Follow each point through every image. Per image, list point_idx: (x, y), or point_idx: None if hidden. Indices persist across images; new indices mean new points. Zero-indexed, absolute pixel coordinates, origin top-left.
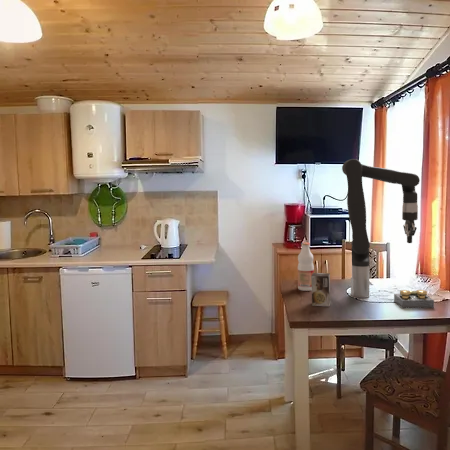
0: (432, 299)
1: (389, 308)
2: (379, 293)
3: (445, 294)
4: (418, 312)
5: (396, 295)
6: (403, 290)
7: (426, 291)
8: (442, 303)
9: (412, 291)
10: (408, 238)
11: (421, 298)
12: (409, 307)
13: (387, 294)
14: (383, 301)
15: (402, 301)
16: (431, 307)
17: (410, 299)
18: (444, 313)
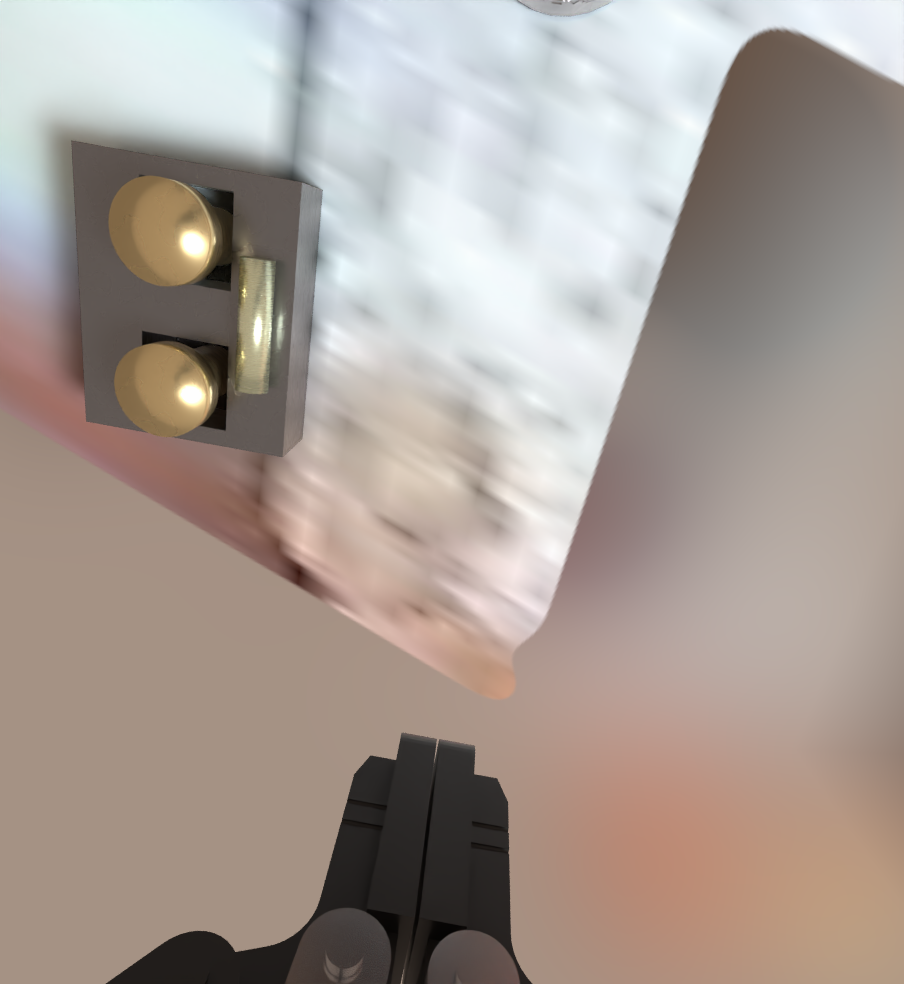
0: (105, 422)
1: (117, 25)
2: (589, 176)
3: (429, 665)
4: (18, 232)
5: (241, 173)
6: (196, 233)
7: (152, 429)
8: (228, 526)
9: (241, 345)
10: (376, 849)
11: None
12: None
13: (536, 240)
14: (328, 78)
15: (77, 142)
16: None
17: (105, 238)
18: (7, 406)
